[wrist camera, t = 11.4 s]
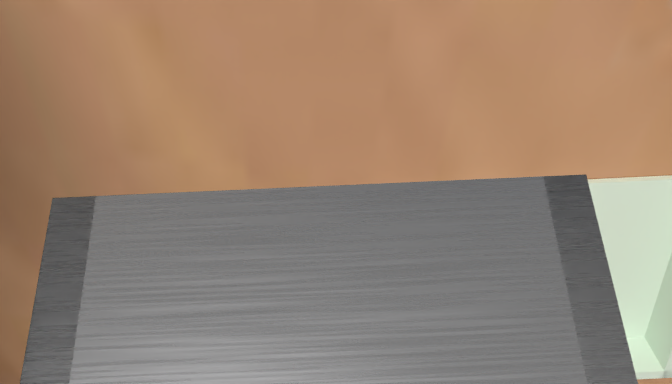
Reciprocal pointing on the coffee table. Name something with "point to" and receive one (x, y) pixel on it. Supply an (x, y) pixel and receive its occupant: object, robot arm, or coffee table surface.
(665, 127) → the coffee table surface
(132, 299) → the grey hollow box
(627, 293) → the tray
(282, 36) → the coffee table surface
